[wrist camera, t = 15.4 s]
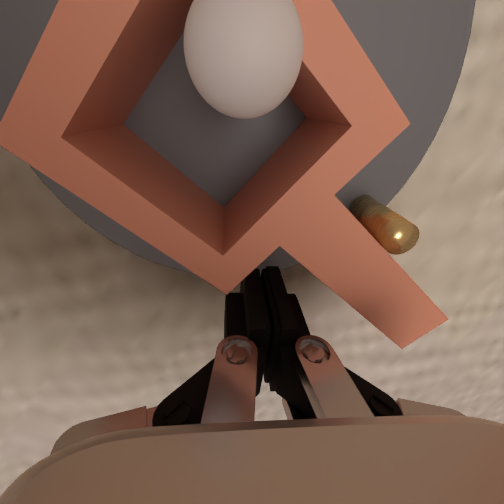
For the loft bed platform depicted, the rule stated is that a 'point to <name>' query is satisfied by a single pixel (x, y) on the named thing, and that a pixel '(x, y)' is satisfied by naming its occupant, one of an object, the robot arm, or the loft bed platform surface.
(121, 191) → the orange square loop
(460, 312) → the loft bed platform surface
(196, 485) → the robot arm
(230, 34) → the post base
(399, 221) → the dowel pin
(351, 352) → the loft bed platform surface
